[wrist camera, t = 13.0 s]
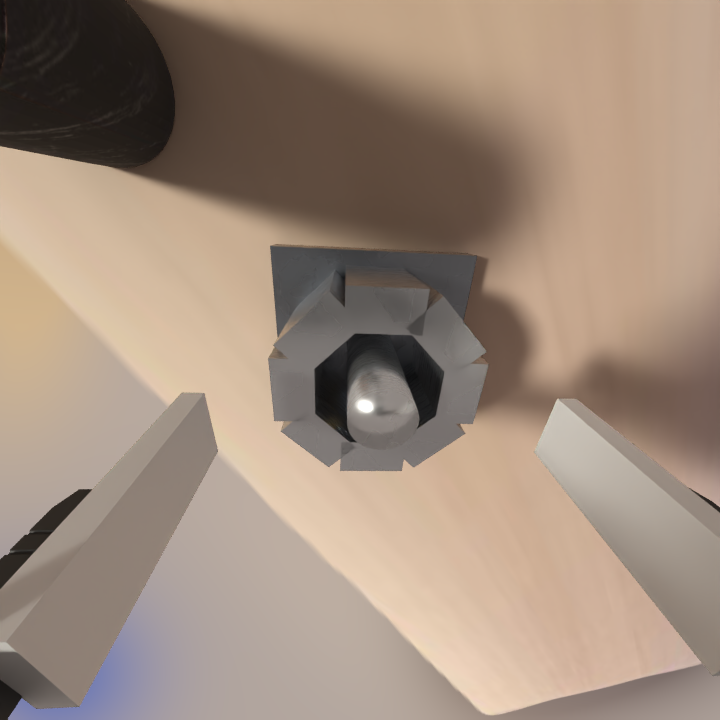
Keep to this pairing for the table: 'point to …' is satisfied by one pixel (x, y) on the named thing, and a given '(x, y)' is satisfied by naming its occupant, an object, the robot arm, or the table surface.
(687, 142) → the table surface
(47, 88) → the travel mug
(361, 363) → the shaft block
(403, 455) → the ring
